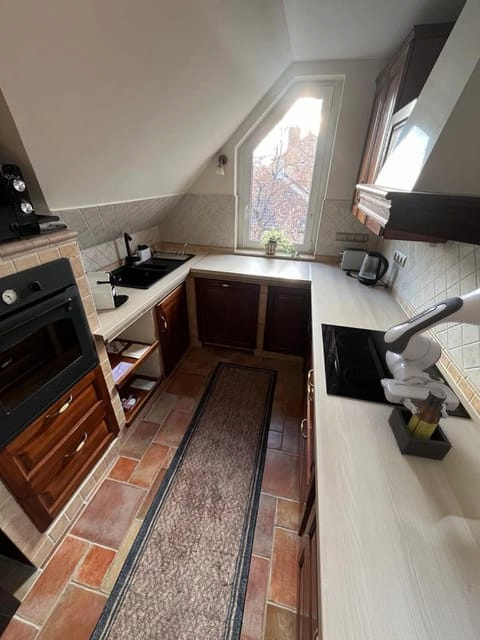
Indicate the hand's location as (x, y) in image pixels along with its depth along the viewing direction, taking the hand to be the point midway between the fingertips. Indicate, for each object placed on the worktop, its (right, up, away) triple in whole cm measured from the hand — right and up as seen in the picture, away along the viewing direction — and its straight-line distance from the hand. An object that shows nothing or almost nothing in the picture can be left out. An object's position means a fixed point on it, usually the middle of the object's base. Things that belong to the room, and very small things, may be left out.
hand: (430, 415), depth 75 cm
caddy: (0, -10, +7) cm, 13 cm away
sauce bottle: (0, -10, +7) cm, 12 cm away
